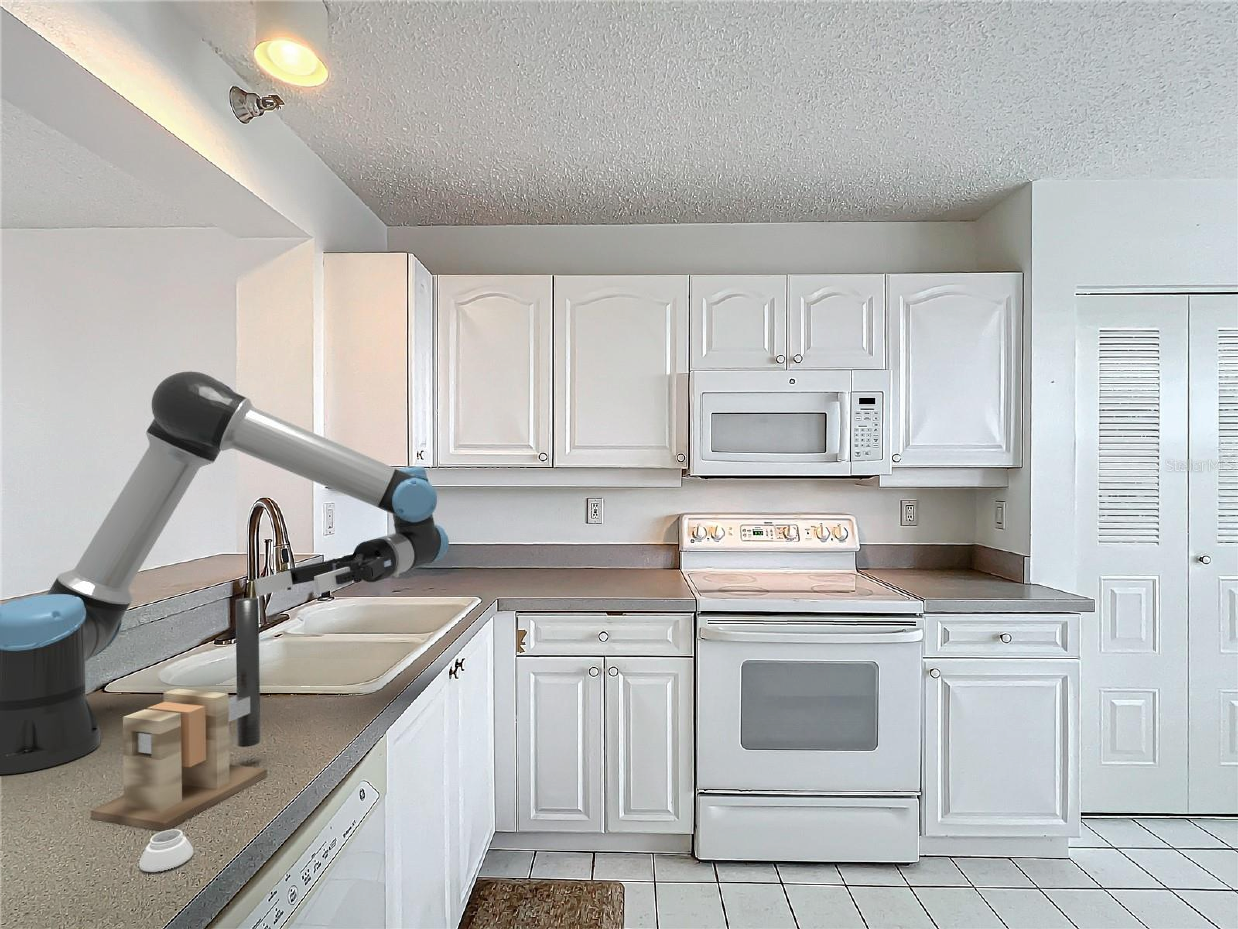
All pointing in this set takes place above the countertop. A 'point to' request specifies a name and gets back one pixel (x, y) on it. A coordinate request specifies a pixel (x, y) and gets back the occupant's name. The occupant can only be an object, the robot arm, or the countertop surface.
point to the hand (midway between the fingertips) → (285, 586)
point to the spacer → (189, 730)
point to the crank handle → (240, 678)
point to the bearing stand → (175, 767)
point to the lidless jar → (166, 851)
